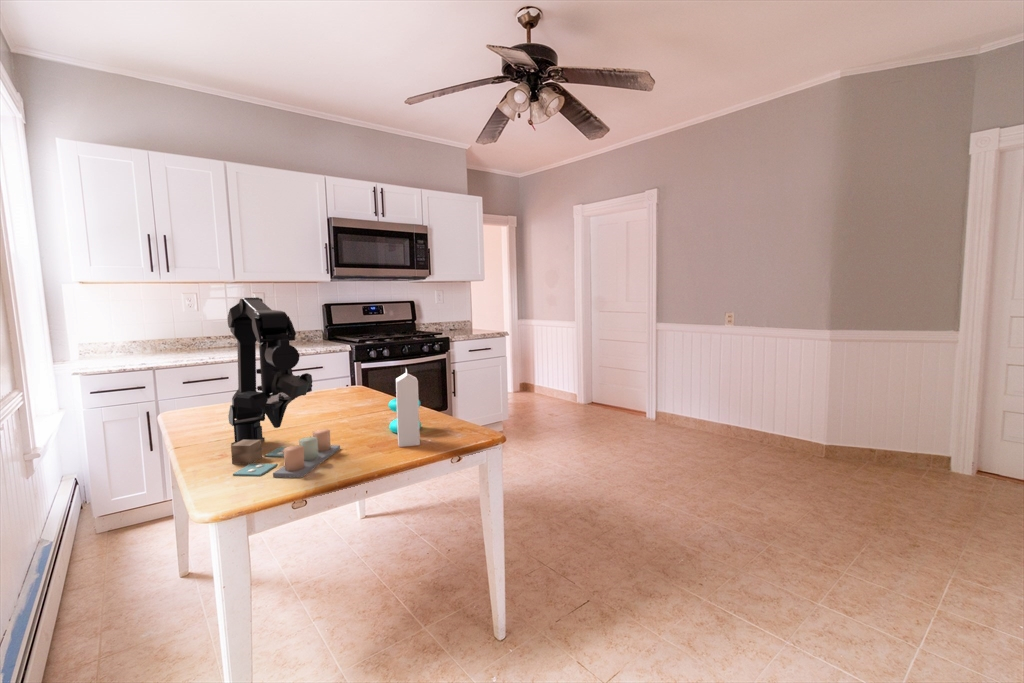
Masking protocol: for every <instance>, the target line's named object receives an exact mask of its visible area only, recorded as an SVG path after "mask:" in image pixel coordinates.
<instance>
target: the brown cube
mask: <svg viewBox="0 0 1024 683" xmlns="http://www.w3.org/2000/svg"><path fill="white" fill-rule="evenodd" d="M262 446H263V445H262V441H261V440H244V439H243V440H241V441H239V442H237V443H235V444H233V445H231V444H230V449H231V450H230V452H231V463H232V465H249V464H251V463H257V461H259V460H260V459H262V458H263V448H262Z"/></svg>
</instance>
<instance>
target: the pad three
mask: <svg viewBox="0 0 1024 683" xmlns="http://www.w3.org/2000/svg"><path fill="white" fill-rule="evenodd" d="M286 447H287V446H279V447H277V448H275V449H273V450H272V451H270V452H268V453H266V454H265V458H284V449H285V448H286Z"/></svg>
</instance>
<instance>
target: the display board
mask: <svg viewBox="0 0 1024 683" xmlns="http://www.w3.org/2000/svg"><path fill="white" fill-rule="evenodd" d="M285 447H286V448H285V449H284V457H283V459H284V461H283V462H284V465H283V466H281V467H280V468H279V469H277V470H276V471H274V472H273V473H272V477H273V478H288V479H289V478H293V479H294V478H298V479H301V478H303V477H304V476H305V475H307V474H308V473H310V472H311V471H313V470H314V469H315V468H316V467H317V466H319V465H321V464H322V463H323V462H325V461H326V460H327V459H328V458H330V457H331V456H333V454H335V453H337V452H338V451H339V450H341V445H340V444H331V430H330V429H328V428H323V429H317V430H314V431H312V436H307V437H302V438H300V439H299V441H298V445H291V446H290V445H289V446H285Z"/></svg>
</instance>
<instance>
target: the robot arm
mask: <svg viewBox="0 0 1024 683" xmlns="http://www.w3.org/2000/svg"><path fill="white" fill-rule="evenodd" d="M227 325H228V328H229V329H230V333H231V335H232V336H233V337H234V338H235V340H237V342H236V344H237V345H236V346H237V348H236V349H237V380H238V381H237V384H238V385H237V386H238V389H237V390H236V392H235V393H234V394H233V395H232V398H231V399H232V400H231V405H230V406H229V410H228V415H227V416H228V422H229V424H230V426H231V427H233V434H234V436H233V437H234V442H231V444H230V446H231V445H233V444H235V443H237V442H239V441H241V440H243V439H244V440H261V442H262V441H264V440H265V436H263V426H262V425H261V422H265V420H266V416H267V418H268V420H269V422H270V423H271V425H272V427H273V428H274V429H279V428H281V425H282V422H283V419H284V417H285V416H284V415H285V413H286V410H287V407H288V405H290V404H291V403H292V401H294V400H296V399H297V398H299V397H302V396H306V395H307V393H310V392H312V391H313V390H312V389H313V388H312V387H313V378H312V377H313V376H312V374H310V373H309V372H306V373H302V374H300V375H295V374H293V368H295V367H296V366H297V365H298V363H299V360H300V352H299V350H298V349H297V348H296V347H295V346H293V345H291V344H290V342H293V341H296V335H297V332H296V330H295V327H294V325H293V322H292V320H291V318H290V316H288V314H287V313H286V312H285V311H282V310H277V309H274V310H273V309H271V308H270V307H269V306H268V305H266V303H265V302H264V300H263V299H262V298H261V297H242V298H240V299H239V302H238V303H236V304H234V306H232V307H231V308H229V310H228V315H227ZM256 343H259V344H258V345H259V346H258V349H259V350H258V351H259V365H260V366H259V368H257V359H256V358H257V356H256V355H257V353H256V350H257V349H256V346H257V345H256ZM257 374H259V375H260V385H257Z"/></svg>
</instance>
